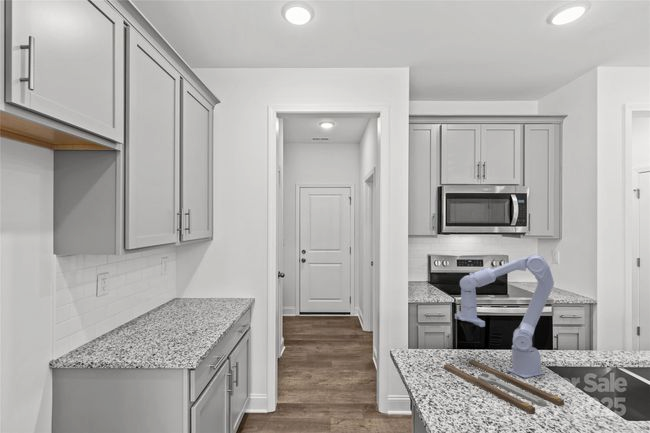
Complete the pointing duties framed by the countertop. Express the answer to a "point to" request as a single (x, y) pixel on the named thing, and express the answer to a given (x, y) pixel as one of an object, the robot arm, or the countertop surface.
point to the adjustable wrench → (511, 389)
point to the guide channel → (501, 394)
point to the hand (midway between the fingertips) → (469, 340)
